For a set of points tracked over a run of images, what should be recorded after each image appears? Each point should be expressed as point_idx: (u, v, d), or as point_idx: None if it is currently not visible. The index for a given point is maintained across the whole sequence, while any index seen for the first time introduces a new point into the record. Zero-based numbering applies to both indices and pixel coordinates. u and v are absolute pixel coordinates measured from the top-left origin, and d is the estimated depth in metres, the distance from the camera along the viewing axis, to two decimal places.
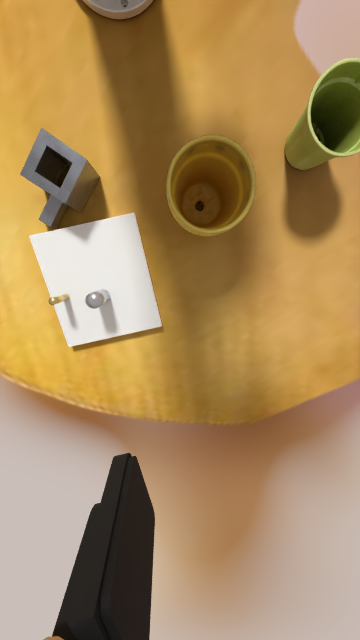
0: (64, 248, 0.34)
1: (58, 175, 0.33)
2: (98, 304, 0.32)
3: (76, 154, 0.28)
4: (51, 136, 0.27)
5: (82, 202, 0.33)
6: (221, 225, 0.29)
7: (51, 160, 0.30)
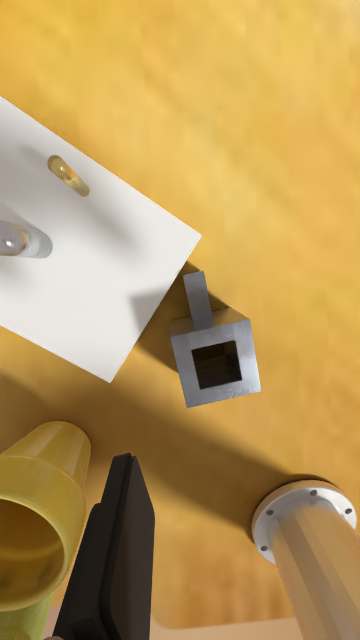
0: (147, 262, 0.19)
1: None
2: None
3: (203, 402, 0.18)
4: (243, 393, 0.18)
5: None
6: None
7: (233, 358, 0.19)
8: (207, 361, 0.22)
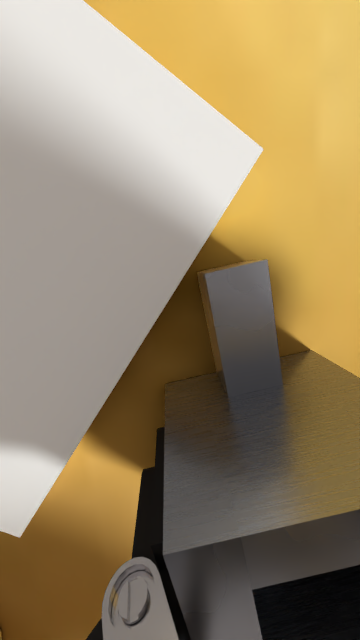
0: (96, 234, 0.06)
1: None
2: None
3: None
4: None
5: None
6: None
7: None
8: None
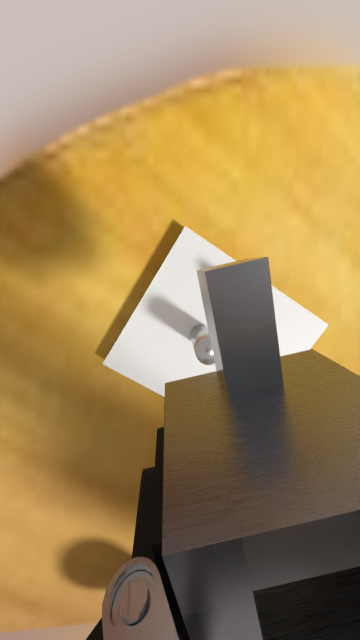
0: (283, 345, 0.24)
1: None
2: (198, 353, 0.18)
3: None
4: None
5: None
6: None
7: None
8: None
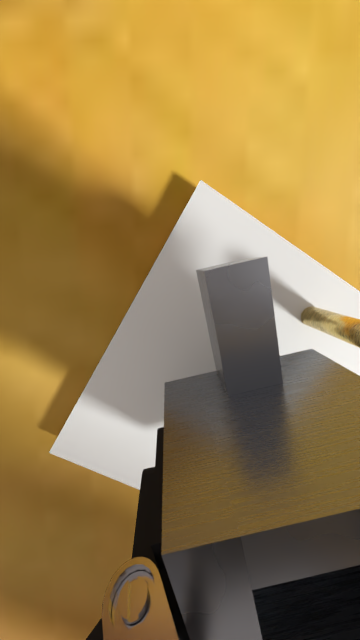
0: None
1: None
2: None
3: None
4: None
5: None
6: None
7: None
8: None
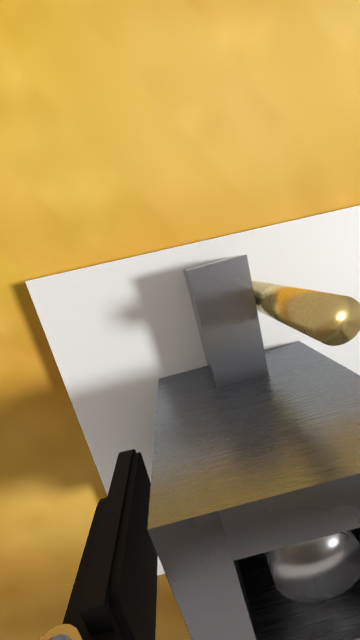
0: None
1: None
2: (294, 591, 0.05)
3: None
4: None
5: None
6: None
7: None
8: None
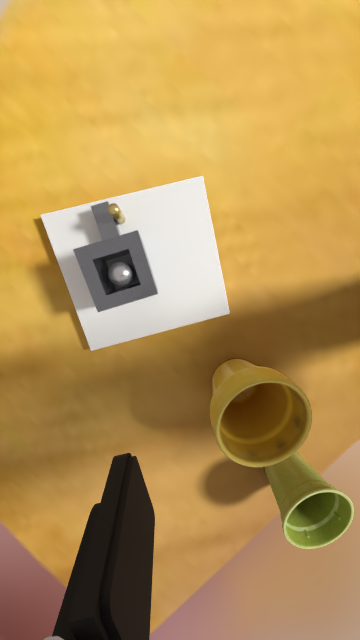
0: (188, 223, 0.26)
1: None
2: (115, 281, 0.22)
3: (110, 306, 0.22)
4: (143, 296, 0.22)
5: None
6: (221, 426, 0.26)
7: None
8: None
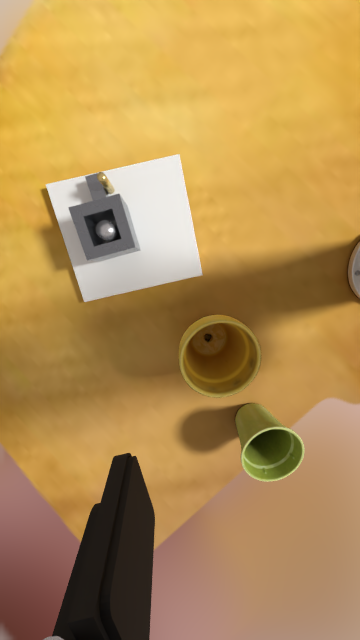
0: (166, 194, 0.31)
1: None
2: (101, 236, 0.27)
3: (97, 255, 0.27)
4: (123, 249, 0.27)
5: None
6: (188, 366, 0.31)
7: None
8: None
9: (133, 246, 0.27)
